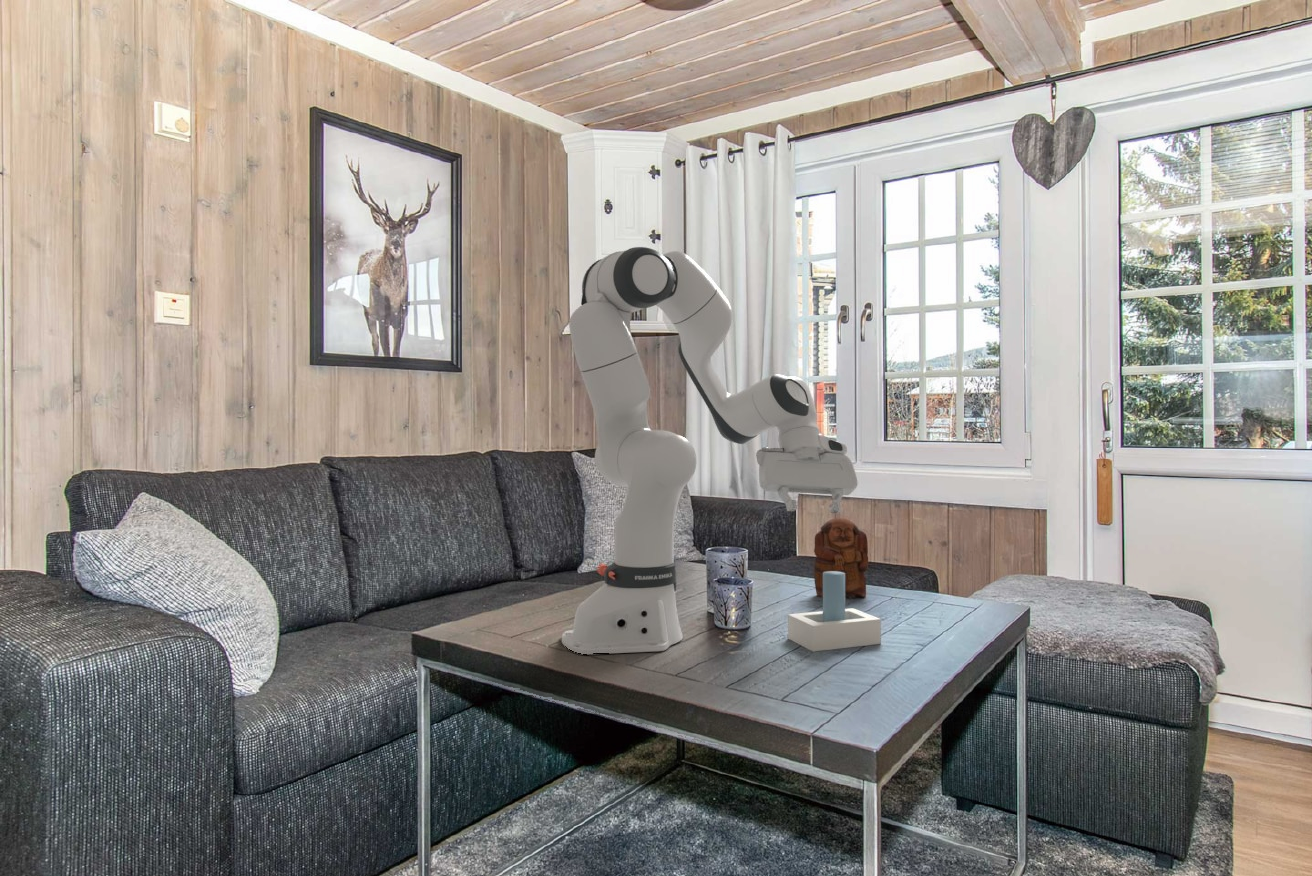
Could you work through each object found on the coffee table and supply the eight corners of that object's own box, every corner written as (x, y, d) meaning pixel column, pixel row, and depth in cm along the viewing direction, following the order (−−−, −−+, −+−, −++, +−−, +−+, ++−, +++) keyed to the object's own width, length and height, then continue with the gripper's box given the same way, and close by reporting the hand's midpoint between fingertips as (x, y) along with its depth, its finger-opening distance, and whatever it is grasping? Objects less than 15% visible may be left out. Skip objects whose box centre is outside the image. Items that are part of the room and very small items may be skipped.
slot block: (813, 651, 138) (813, 625, 138) (788, 638, 146) (788, 614, 146) (881, 643, 142) (880, 618, 142) (852, 631, 151) (852, 608, 151)
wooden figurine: (821, 600, 178) (821, 520, 177) (812, 594, 184) (812, 517, 184) (871, 598, 179) (871, 519, 179) (860, 592, 186) (860, 516, 185)
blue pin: (830, 642, 142) (830, 575, 142) (818, 636, 146) (818, 571, 145) (849, 639, 143) (849, 574, 143) (837, 634, 147) (837, 570, 147)
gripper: (760, 439, 156) (771, 501, 149) (853, 445, 161) (867, 506, 154) (749, 454, 161) (759, 515, 154) (839, 460, 166) (852, 519, 159)
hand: (814, 511), depth 154 cm, fingers open, 8 cm apart
